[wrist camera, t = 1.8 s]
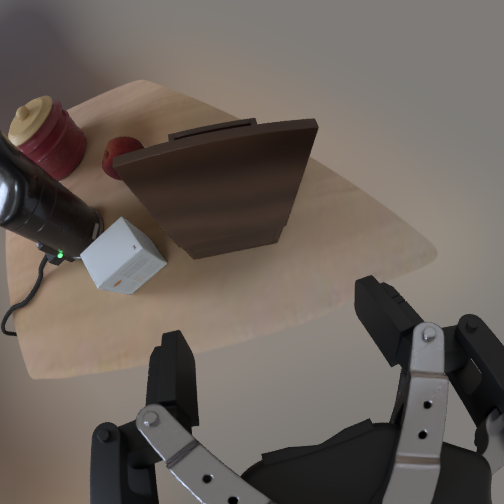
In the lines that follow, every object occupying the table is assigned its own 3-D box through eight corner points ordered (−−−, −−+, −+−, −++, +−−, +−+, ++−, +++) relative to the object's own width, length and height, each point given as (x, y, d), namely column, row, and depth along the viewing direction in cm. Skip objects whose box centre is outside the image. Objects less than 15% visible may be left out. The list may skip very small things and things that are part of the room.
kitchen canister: (43, 194, 43) (-10, 155, 26) (41, 151, 46) (-1, 110, 29) (91, 162, 45) (44, 109, 28) (85, 121, 47) (48, 70, 30)
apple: (118, 153, 45) (101, 129, 37) (156, 150, 45) (142, 123, 37) (110, 188, 44) (89, 167, 36) (148, 186, 44) (132, 162, 36)
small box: (149, 237, 42) (122, 213, 31) (168, 264, 41) (144, 247, 30) (113, 268, 40) (78, 254, 30) (130, 296, 39) (97, 289, 29)
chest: (180, 164, 45) (167, 134, 36) (254, 150, 45) (255, 117, 37) (193, 259, 41) (179, 245, 32) (277, 242, 42) (284, 224, 33)
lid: (112, 157, 15) (112, 167, 15) (314, 117, 16) (319, 127, 15) (178, 240, 32) (178, 247, 32) (284, 219, 33) (286, 225, 32)
